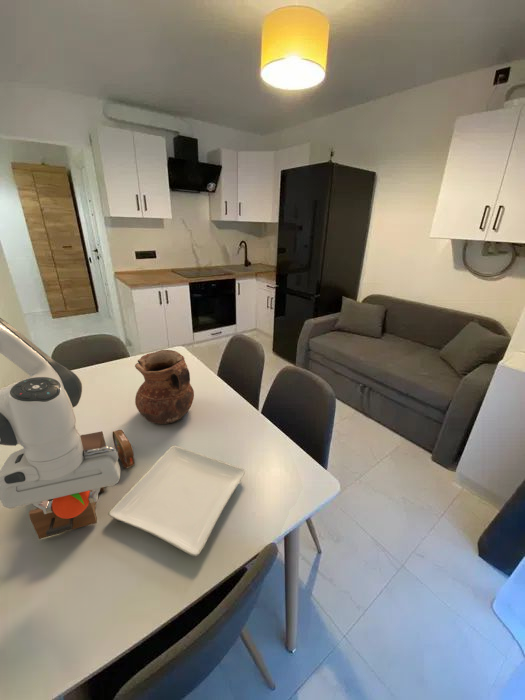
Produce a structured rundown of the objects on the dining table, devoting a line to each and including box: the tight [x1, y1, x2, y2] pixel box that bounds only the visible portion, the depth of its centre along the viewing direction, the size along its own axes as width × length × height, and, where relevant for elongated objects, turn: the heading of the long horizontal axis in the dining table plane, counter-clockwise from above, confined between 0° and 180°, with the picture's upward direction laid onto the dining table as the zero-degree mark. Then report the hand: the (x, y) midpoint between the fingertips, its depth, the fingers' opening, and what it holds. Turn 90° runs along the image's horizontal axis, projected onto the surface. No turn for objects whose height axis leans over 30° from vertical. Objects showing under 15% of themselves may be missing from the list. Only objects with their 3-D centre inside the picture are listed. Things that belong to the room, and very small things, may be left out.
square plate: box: [107, 445, 246, 557], centre depth 82 cm, size 27×27×4 cm
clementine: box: [52, 491, 90, 519], centre depth 62 cm, size 8×7×7 cm
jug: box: [134, 349, 195, 425], centre depth 113 cm, size 22×21×25 cm
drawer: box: [28, 490, 98, 540], centre depth 74 cm, size 18×12×9 cm
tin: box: [111, 429, 136, 469], centre depth 94 cm, size 15×3×8 cm, turn 40°
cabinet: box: [80, 430, 107, 494], centre depth 85 cm, size 15×14×11 cm
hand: (72, 505), depth 62 cm, fingers closed on clementine, 7 cm apart
